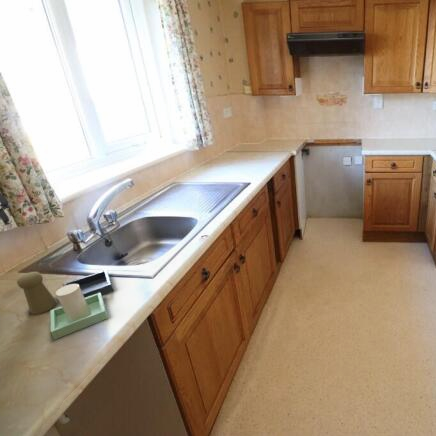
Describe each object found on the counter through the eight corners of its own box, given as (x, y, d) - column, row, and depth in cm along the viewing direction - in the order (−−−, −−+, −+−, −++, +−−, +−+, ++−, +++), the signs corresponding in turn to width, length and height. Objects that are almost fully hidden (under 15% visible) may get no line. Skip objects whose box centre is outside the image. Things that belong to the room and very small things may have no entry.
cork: (61, 298, 95) (46, 267, 91) (49, 312, 90) (32, 279, 85) (39, 301, 95) (22, 270, 90) (25, 315, 89) (6, 283, 85)
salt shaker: (69, 325, 84) (55, 298, 80) (68, 315, 88) (55, 288, 84) (92, 316, 87) (79, 289, 83) (90, 307, 90) (78, 281, 87)
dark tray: (67, 308, 91) (63, 301, 90) (65, 290, 99) (62, 283, 98) (113, 291, 98) (111, 284, 97) (109, 275, 105) (106, 269, 104)
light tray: (54, 339, 80) (50, 332, 79) (53, 317, 88) (50, 310, 87) (108, 318, 87) (105, 310, 86) (103, 299, 94) (100, 292, 93)
